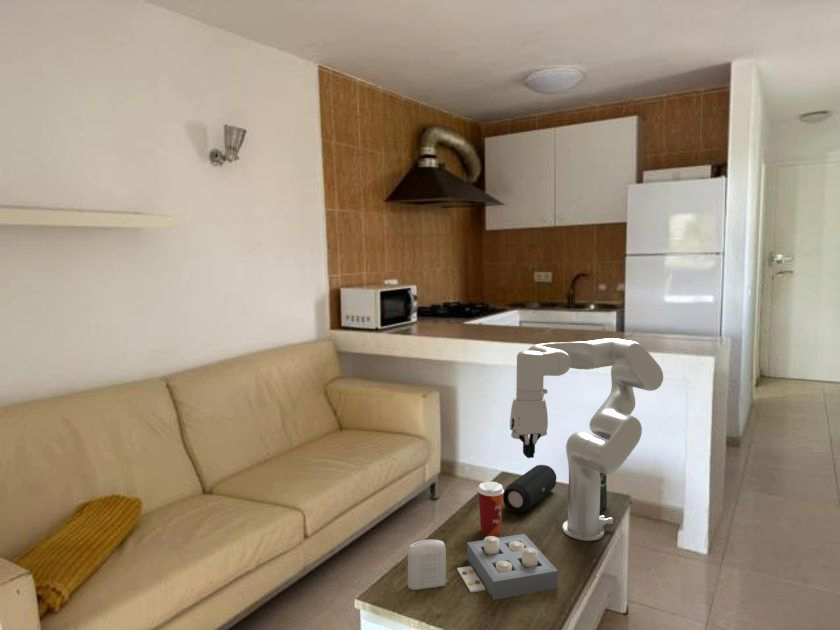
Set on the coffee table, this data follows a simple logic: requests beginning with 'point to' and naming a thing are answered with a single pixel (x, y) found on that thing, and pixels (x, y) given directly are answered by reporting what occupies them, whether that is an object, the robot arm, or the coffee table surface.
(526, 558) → the button
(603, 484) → the coffee jar
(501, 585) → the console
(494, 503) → the coffee cup
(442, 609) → the coffee table surface
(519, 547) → the button
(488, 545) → the button
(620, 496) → the coffee table surface
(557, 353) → the robot arm
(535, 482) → the portable speaker
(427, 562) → the photo printer
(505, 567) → the button
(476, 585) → the card
